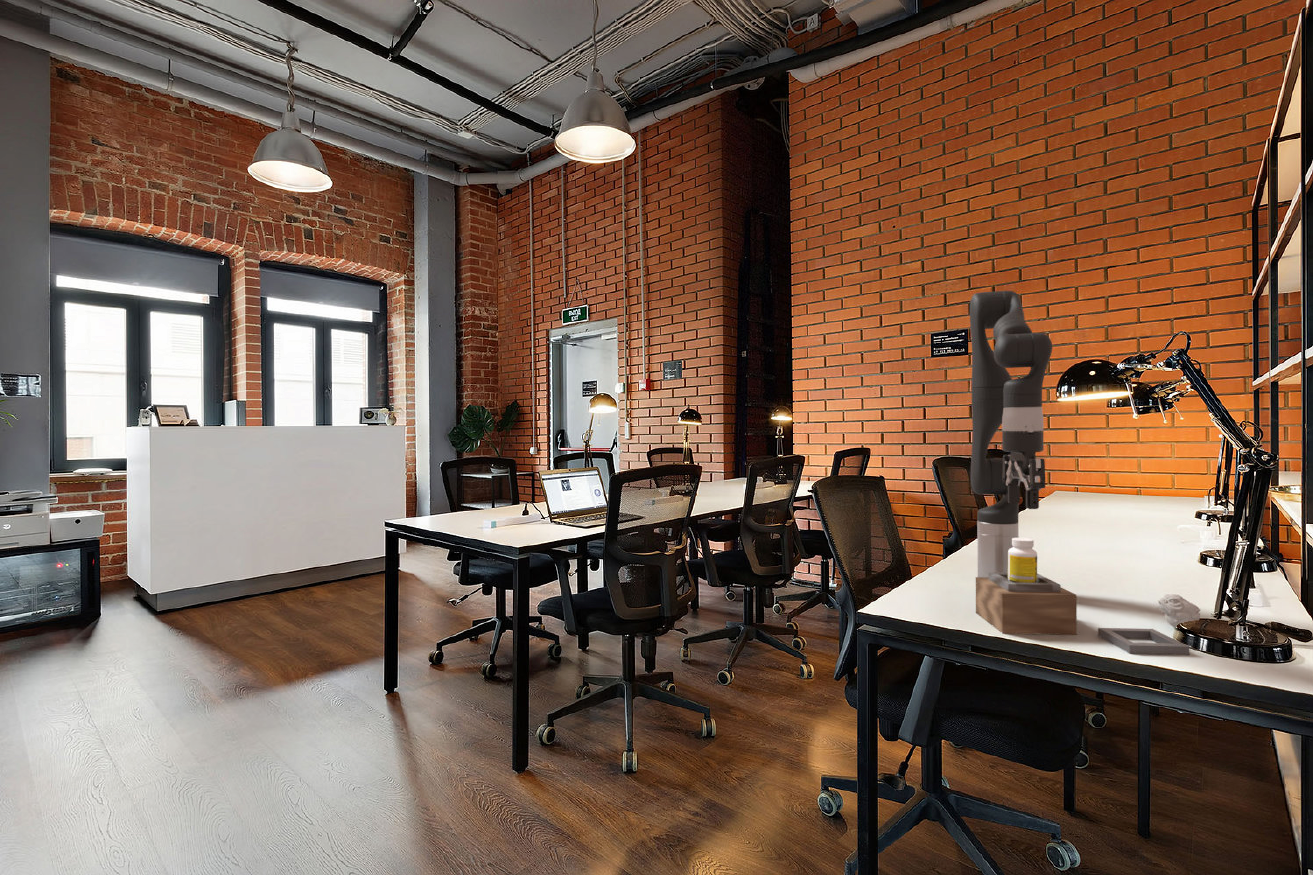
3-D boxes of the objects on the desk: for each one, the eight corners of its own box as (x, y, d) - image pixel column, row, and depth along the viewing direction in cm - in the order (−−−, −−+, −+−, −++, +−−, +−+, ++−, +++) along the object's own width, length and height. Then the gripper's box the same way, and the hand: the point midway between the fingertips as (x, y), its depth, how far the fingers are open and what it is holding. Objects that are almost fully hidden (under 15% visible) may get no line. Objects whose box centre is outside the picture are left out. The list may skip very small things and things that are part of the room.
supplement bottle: (1041, 589, 131) (1041, 541, 131) (1012, 587, 132) (1012, 541, 132) (1031, 582, 136) (1031, 537, 136) (1004, 581, 138) (1004, 536, 137)
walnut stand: (975, 612, 142) (975, 570, 142) (1042, 613, 140) (1042, 571, 140) (1002, 633, 128) (1002, 586, 128) (1076, 634, 126) (1076, 587, 126)
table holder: (1098, 635, 126) (1098, 627, 126) (1152, 636, 125) (1152, 628, 125) (1129, 653, 116) (1129, 645, 116) (1189, 654, 115) (1189, 646, 115)
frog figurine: (1152, 623, 133) (1152, 590, 133) (1192, 626, 131) (1192, 592, 131) (1165, 632, 127) (1165, 597, 127) (1207, 635, 125) (1208, 600, 125)
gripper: (990, 428, 141) (990, 501, 141) (1018, 429, 127) (1019, 510, 127) (1025, 428, 140) (1026, 501, 140) (1059, 429, 126) (1059, 510, 126)
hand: (1022, 505), depth 134 cm, fingers open, 8 cm apart
